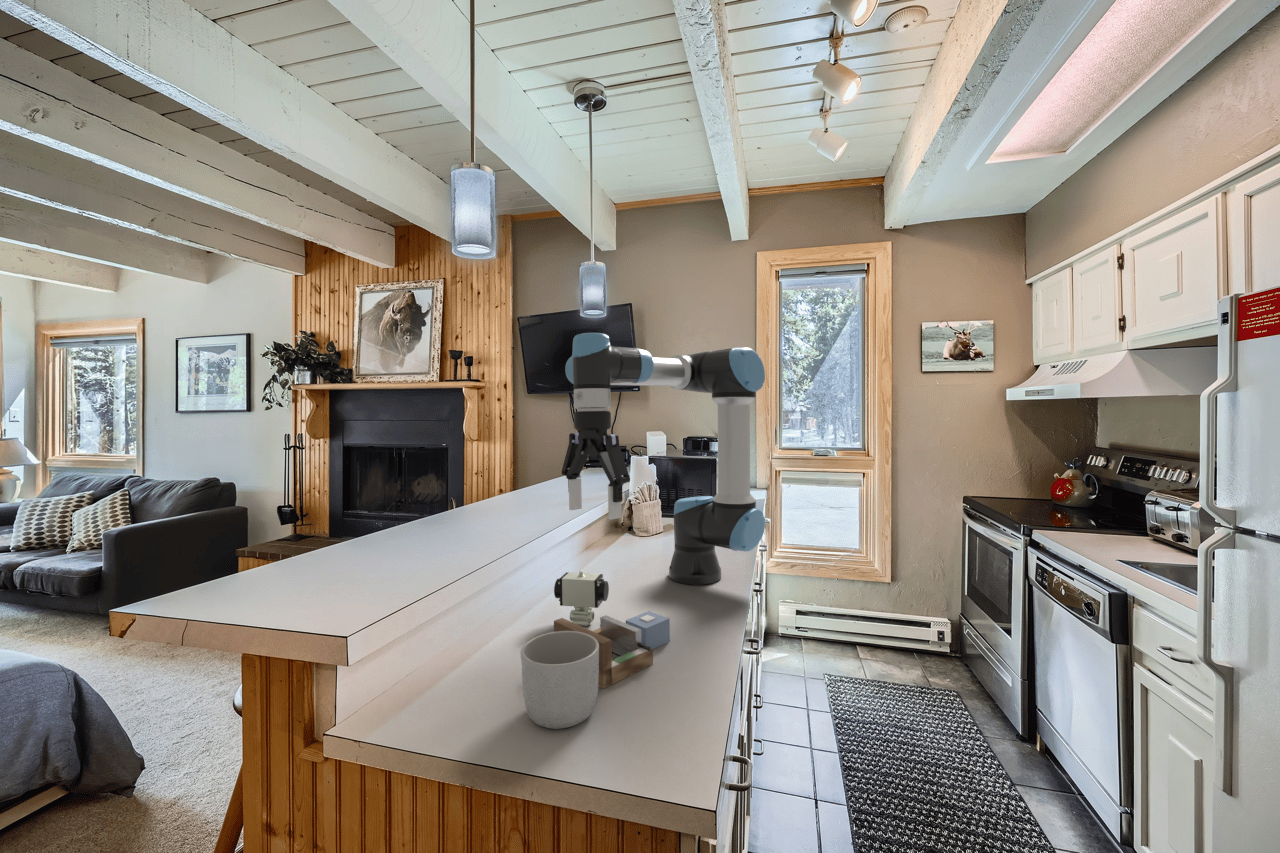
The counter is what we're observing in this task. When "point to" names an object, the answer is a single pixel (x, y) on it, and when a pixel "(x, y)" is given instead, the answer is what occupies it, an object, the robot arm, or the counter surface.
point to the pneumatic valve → (581, 594)
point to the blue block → (652, 628)
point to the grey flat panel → (621, 636)
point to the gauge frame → (610, 656)
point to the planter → (560, 678)
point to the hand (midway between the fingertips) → (594, 513)
